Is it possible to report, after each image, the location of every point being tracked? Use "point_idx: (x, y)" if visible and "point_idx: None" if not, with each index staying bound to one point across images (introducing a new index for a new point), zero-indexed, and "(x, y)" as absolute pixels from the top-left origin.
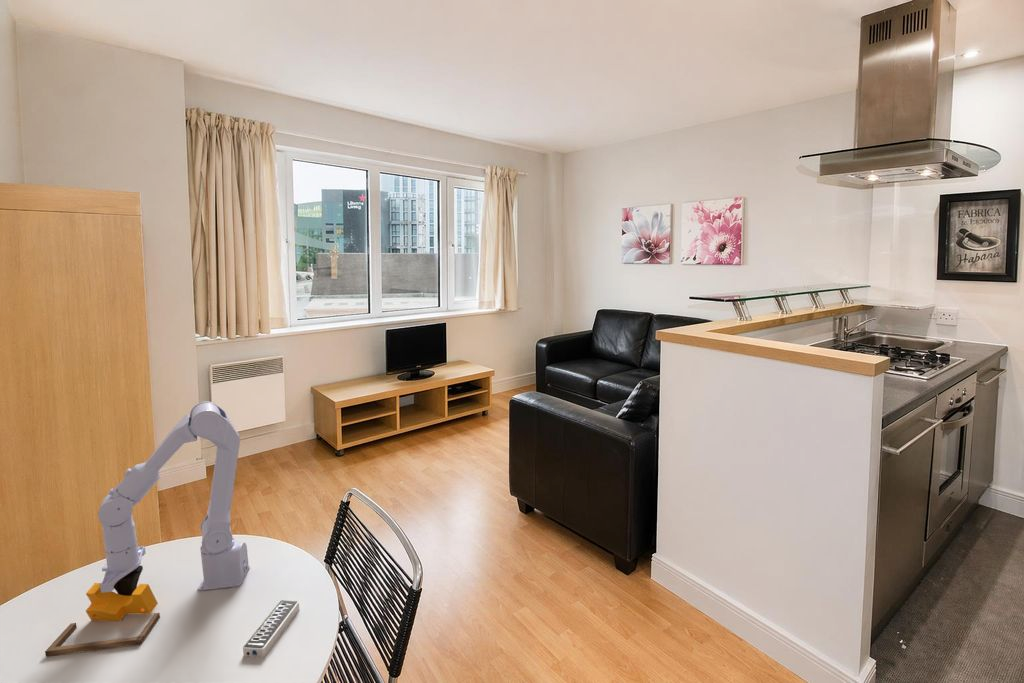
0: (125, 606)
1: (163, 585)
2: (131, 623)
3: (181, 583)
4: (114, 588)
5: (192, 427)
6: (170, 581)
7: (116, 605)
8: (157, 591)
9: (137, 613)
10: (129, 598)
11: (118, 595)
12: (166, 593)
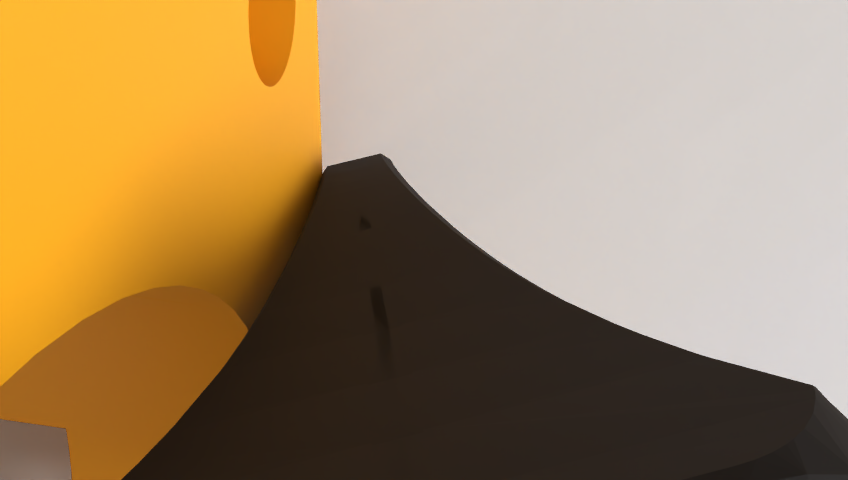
0: (82, 469)
1: (778, 279)
2: (41, 432)
3: None
4: (206, 396)
5: None
6: (844, 301)
7: (49, 354)
8: (660, 294)
9: None
10: None
11: (220, 328)
12: None
